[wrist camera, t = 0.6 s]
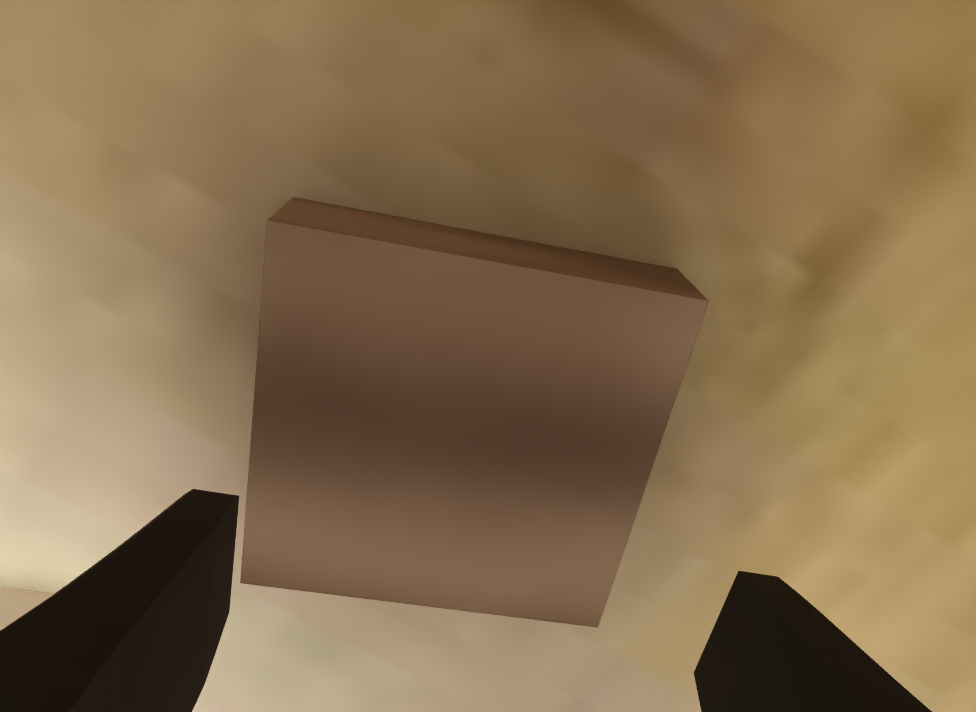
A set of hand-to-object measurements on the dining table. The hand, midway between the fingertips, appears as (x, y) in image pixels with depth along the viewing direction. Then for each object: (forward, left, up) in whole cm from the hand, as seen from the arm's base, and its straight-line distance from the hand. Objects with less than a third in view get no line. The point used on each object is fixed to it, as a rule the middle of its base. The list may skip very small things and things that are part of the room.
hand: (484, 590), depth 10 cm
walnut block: (-2, 0, -10) cm, 11 cm away
